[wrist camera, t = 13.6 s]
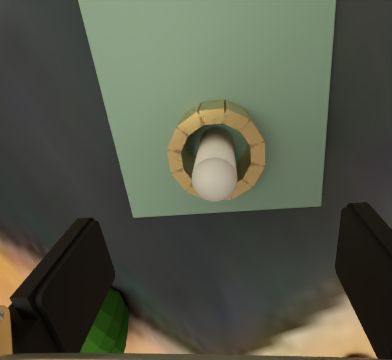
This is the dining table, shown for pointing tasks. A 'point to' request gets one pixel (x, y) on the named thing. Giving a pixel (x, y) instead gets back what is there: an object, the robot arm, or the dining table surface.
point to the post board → (215, 96)
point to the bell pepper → (109, 327)
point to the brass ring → (217, 114)
